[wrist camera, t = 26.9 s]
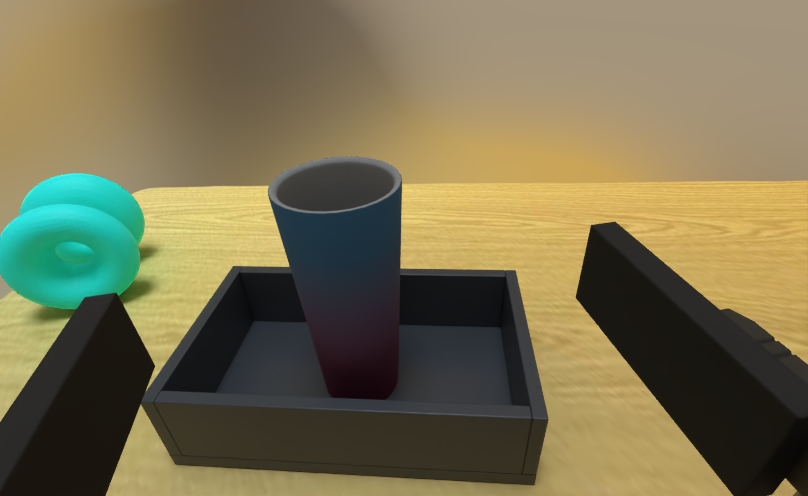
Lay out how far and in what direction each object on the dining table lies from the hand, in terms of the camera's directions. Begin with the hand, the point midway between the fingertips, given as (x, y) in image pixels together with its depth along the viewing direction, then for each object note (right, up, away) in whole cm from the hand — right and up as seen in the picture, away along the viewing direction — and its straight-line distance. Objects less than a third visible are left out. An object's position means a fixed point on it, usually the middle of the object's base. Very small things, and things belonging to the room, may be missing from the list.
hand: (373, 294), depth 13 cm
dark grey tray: (-2, -9, +19) cm, 21 cm away
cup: (-2, -8, +18) cm, 20 cm away
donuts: (-29, -2, +31) cm, 42 cm away
